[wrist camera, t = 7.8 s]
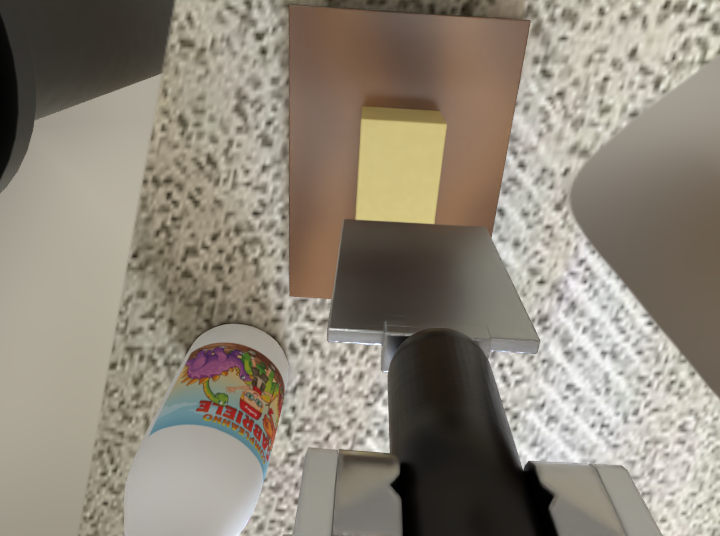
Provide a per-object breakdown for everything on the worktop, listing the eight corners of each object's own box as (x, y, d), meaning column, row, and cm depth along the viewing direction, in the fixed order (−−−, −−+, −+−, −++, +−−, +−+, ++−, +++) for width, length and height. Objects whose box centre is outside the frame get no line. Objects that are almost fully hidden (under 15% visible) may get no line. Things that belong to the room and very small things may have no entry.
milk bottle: (262, 416, 44) (184, 704, 26) (174, 374, 42) (26, 652, 24) (308, 350, 41) (255, 625, 23) (215, 302, 39) (81, 559, 21)
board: (292, 286, 38) (289, 296, 37) (292, 4, 30) (288, 5, 29) (475, 297, 38) (478, 308, 37) (524, 19, 30) (531, 20, 29)
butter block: (356, 204, 34) (354, 225, 31) (362, 105, 31) (360, 118, 28) (428, 208, 34) (433, 230, 31) (440, 110, 31) (447, 123, 28)
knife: (341, 252, 19) (260, 881, 6) (344, 193, 18) (251, 783, 5) (480, 259, 19) (739, 908, 6) (490, 202, 18) (832, 817, 5)
